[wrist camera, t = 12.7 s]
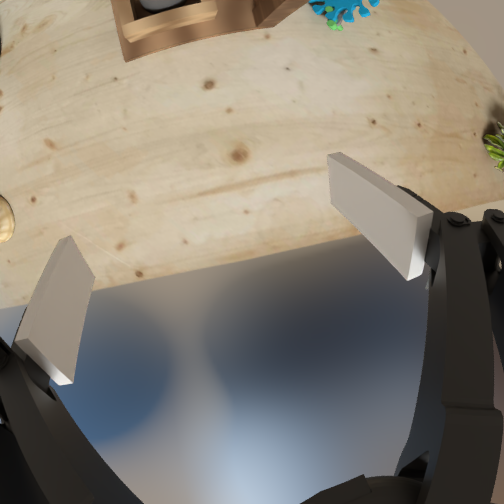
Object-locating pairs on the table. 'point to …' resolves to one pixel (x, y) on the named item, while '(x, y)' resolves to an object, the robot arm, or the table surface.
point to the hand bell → (6, 221)
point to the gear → (341, 11)
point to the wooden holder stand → (192, 22)
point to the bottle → (161, 5)
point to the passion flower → (494, 152)
